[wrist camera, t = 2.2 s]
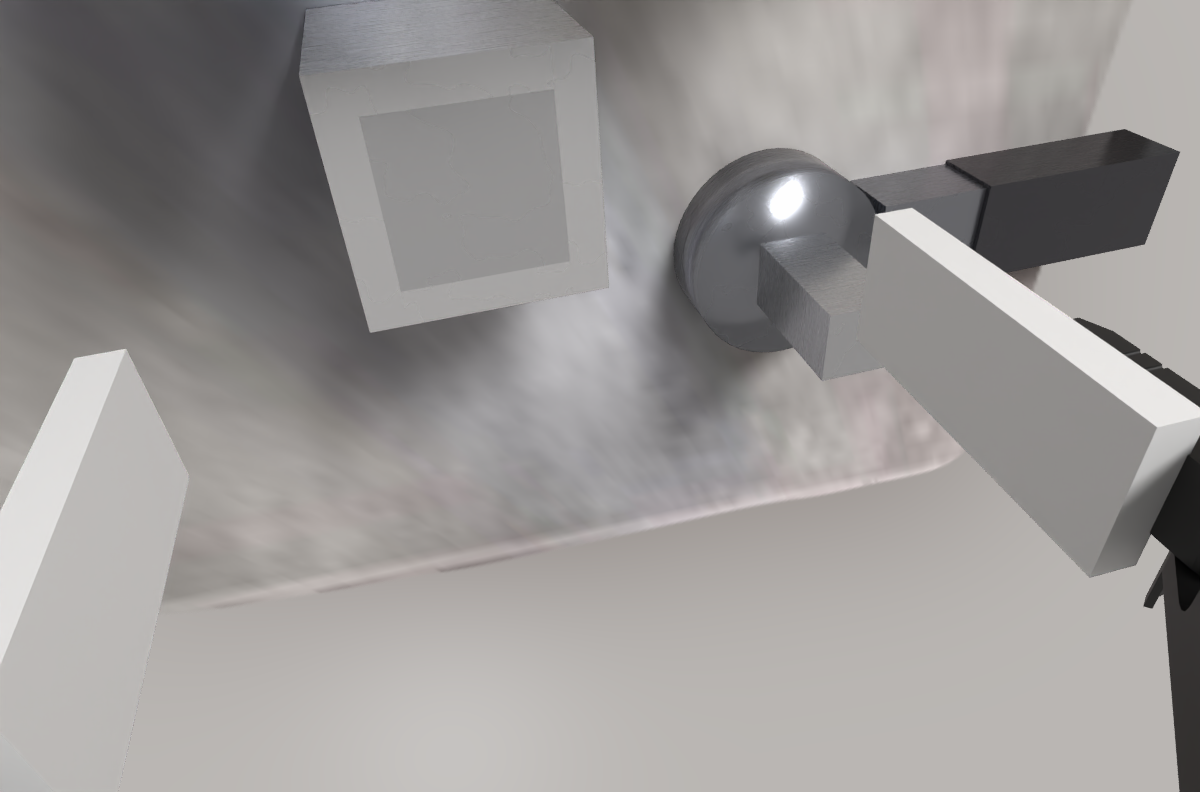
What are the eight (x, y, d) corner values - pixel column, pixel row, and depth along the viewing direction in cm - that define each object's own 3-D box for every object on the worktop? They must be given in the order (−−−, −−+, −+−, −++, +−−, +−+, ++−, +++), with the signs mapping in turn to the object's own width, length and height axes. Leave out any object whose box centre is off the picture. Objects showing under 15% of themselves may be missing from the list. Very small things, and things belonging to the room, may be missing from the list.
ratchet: (673, 334, 32) (750, 451, 26) (672, 164, 28) (763, 260, 22) (1083, 251, 36) (1232, 339, 30) (1138, 88, 31) (1323, 154, 25)
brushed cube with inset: (361, 222, 26) (370, 333, 21) (306, 9, 22) (299, 76, 17) (553, 190, 27) (608, 287, 22) (532, -19, 24) (593, 36, 18)
